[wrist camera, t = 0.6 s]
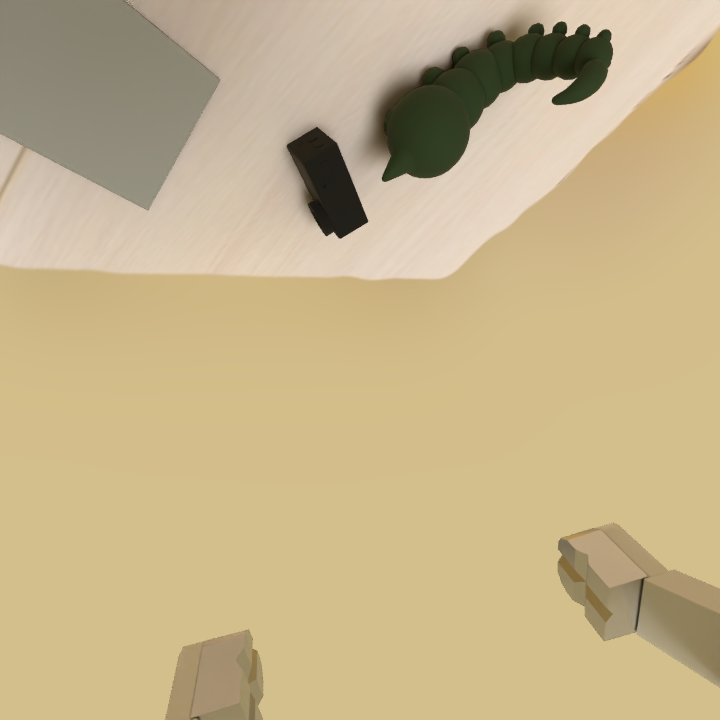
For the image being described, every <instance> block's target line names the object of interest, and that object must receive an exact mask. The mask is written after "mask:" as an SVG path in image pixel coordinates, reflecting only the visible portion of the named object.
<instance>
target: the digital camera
mask: <svg viewBox="0 0 720 720" xmlns="http://www.w3.org/2000/svg"><path fill="white" fill-rule="evenodd" d="M303 143H304V144H303ZM287 148H288V150H289V152H290V154H291V156H292V158H293V160H294V162H295V164H296V166H297V168H298V170H299V172H300V174H301V176H302V178H303V180H304V182H305V184H306V186H307V188H308V190H309V192H310V194H311V196H312V198H313V200H314V201H312V202H311V203H309V204H308V206H309V208H310V210H311V213H312V214H313V216H314V218H315V220H316V222H317V223H318V225H319V227H320V228H321V230H322V232H323V233H324V234H325V236H328V235H329V234H331V233H333V232H334V233H335V234H336V235H337V236H338V238H340V239H341V238H343V237H344V236H346V235H348V234H349V233H351V232H353V231H354V230H356V229H357V228H359V227H361V226H362V225H364V224H366V223H367V222H368V219H367V217H366V214H365V212H364V209H363V207H362V204H361V202H360V199H359V197H358V194H357V192H356V189H355V187H354V184H353V182H352V179H351V177H350V174H349V172H348V169H347V167H346V165H345V162H344V160H343V157H342V155H341V152H340V150H339V147H338V145H337V143H336V142H335V141H334V140H332V139H331V138H330V137H329V136H327V135H326V134H325V133H324V132H322V131H321V130H320V129H319V128H318V127H316V128H315V129H313V130H311V131H310V132H308V133H306V134H305V135H303V136H301V137H300V138H298V139H296V140H295V141H293V142H291V143H290V144H288V145H287Z"/></svg>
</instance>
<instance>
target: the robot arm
mask: <svg viewBox="0 0 720 720" xmlns="http://www.w3.org/2000/svg"><path fill="white" fill-rule="evenodd" d="M558 550H559V551H560V552H561V553H562V556H561V558H560V559H559V561H558V573H559V576H560V579H561V582H562V584H563V586H564V588H565V590H566V591H567V593H568V594H569V595H570V597H571V598H572V600H574V601H575V602H577V603H579V604H581V605H583V606H584V607H585V617H586V618H587V619H588V621H589V622H590V623H591V625H592V626H593V627H594V629H595V630H596V631H597V633H598V634H599V635H600V637H601V638H602V639H603V641H607V640H611V639H614V638H617V637H621V636H624V635H627V634H631V633H635V632H637V635H639V636H640V637H642V638H643V639H645V640H646V641H648V642H649V643H651V644H653V645H654V646H656V647H657V648H659V649H661V650H662V651H663V652H665V653H667V654H668V655H670V656H671V657H673V658H674V659H676V660H678V661H679V662H681V663H682V664H684V665H685V666H687V667H688V668H690V669H692V670H693V671H695V672H696V673H698V674H699V675H701V676H702V677H704V678H706V679H707V680H709V681H711V682H712V683H713V684H715V685H716V686H718V687H720V589H719V588H717V587H714V586H712V585H710V584H707V583H705V582H702V581H700V580H697V579H695V578H693V577H690V576H688V575H686V574H683V573H681V572H679V571H676V570H671V571H668V570H667V569H666V568H665V567H664V566H663V565H662V564H661V563H659V562H658V561H657V560H656V559H655V558H654V557H653V556H652V555H651V554H650V553H649V552H648V551H646V550H645V549H644V548H643V547H642V546H641V545H640V544H639V543H638V542H637V541H636V540H634V539H633V538H632V537H631V536H630V535H629V534H628V533H627V532H626V531H625V530H624V529H622V528H621V527H620V526H619V525H617V524H615V523H611V524H608V525H604V526H600V527H597V528H592V529H589V530H585V531H582V532H579V533H576V534H572V535H570V536H566V537H563V538H561V539H560V540H559V542H558ZM252 640H253V639H252V636H251V634H250V631H249V630H245V631H241V632H238V633H234V634H230V635H226V636H222V637H218V638H214V639H211V640H207V641H203V642H199V643H196V644H192V645H189V646H185V647H183V648H182V650H181V653H180V655H179V658H178V663H177V667H176V672H175V676H174V681H173V686H172V690H171V695H170V700H169V705H168V709H167V714H166V719H165V720H263V718H262V715H261V713H260V710H259V708H258V705H259V703H260V701H261V699H262V697H263V676H262V675H263V674H262V666H261V661H260V657H259V654H258V652H257V651H256V650H254V649H252Z"/></svg>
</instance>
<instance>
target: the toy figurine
mask: <svg viewBox="0 0 720 720" xmlns="http://www.w3.org/2000/svg"><path fill="white" fill-rule="evenodd" d="M566 33H567V25H566V23H565V22H558V23H557V24H556V25H555V26H554V27H553V31H552V33H550V34H548V35H545V36H543V35H544V27H543V25H542V24H540V23H537V24H534V25H532V26H531V27H530V29H529V30H528V34H526V35H524V36H522V37H520V38H518V39H517V40H516V41H515V42H511V41H505V35H504V33H503V32H501V31H499V30H498V31H494V32H492V33H491V34H490V35H489V37H488V39H487V48H488V49H487V50H485V49H478V50H473V51H471V52H469V50H468V49H467V48H466V47H460V48H458V49H457V50H456V51H455V52H454V54H453V62H454V65H455V67H454V69H450V70H448V71H445V72H443V71H442V70H441V69H440V68H437V67H434V68H431V69H429V70H428V71H427V72H426V73H425V75H424V76H423V86H421V87H418V88H416V89H414V90H412V91H411V92H409V93H408V94H406V95H405V96H404V97H403V98H402V99H401V100H400V101H399V102H398V103H397V104H396V105H395V107H394V108H393V109H392V110H391V111H389V112H388V113H387V115H386V119H385V123H384V131H385V134H386V136H387V143H388V148H389V151H390V154H391V157H390V160H389V162H388V164H387V167H386V169H385V171H384V174H383V176H382V181H383V182H387V181H389V180H392V179H394V178H396V177H399V176H401V175H403V174H406V173H407V174H409V175H411V176H414V177H418V178H433V177H436V176H440V175H442V174H444V173H446V172H447V171H449V170H450V169H451V168H452V167H453V166H454V165H455V164H456V163H457V162H458V161H459V160H460V158H461V156H462V155H463V153H464V152H465V149H466V147H467V144H468V141H469V135H470V129H471V128H472V127H473V126H474V125H475V124H476V123H477V122H478V120H479V118H480V116H481V114H482V112H483V109H484V108H486V107H488V106H490V105H491V104H492V103H493V102H494V101H495V99H496V98H497V97H498V95H499V94H500V93H502V92H505V91H507V90H509V89H511V88H512V87H513V86H514V85H515V84H516V83H517V82H518V83H528V82H531V81H534V80H535V79H540V80H552V79H554V78H556V77H557V76H558V77H559V78H562V79H564V80H572V79H575V78H577V77H578V78H577V79H576V80H575V81H574V82H573V83H572V84H571V85H570V86H569V87H568V88H567V89H565V90H564V91H562V92H561V93H559V94H557V95H556V96H554V97H553V98H552V103H553V104H554V105H566V104H572V103H576V102H580V101H582V100H584V99H586V98H588V97H590V96H591V95H592V94H594V93H595V92H596V91H597V90H598V89H599V88H600V87H601V86H602V84H603V83H604V81H605V79H606V77H607V73H608V69H607V68H608V67H609V66H610V64H611V60H612V56H613V48H612V45H611V43H610V40H611V35H612V34H611V32H610V31H609V30H607V29H605V30H602V31H601V32H600V33H599V34H598V35H597V37H594V38H591V39H590V38H589V35H590V27H589V26H588V25H586V24H583V25H581V26H580V27H578V28H577V30H576V32H575V34H574V35H571V36H568V37H566V36H565V34H566Z"/></svg>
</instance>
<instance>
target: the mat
mask: <svg viewBox="0 0 720 720" xmlns="http://www.w3.org/2000/svg"><path fill="white" fill-rule="evenodd" d="M219 82H220V79H219V78H218V77H216V76H215V75H214V74H213V73H211V72H210V71H209V70H208V69H207V68H205V67H204V66H203V65H202V64H200V63H199V62H198V61H197V60H196V59H194V58H193V57H192V56H191V55H189V54H188V53H187V52H186V51H185V50H183V49H182V48H181V47H180V46H179V45H177V44H176V43H175V42H174V41H172V40H171V39H170V38H169V37H168V36H166V35H165V34H164V33H163V32H161V31H160V30H159V29H158V28H157V27H155V26H154V25H153V24H152V23H150V22H149V21H148V20H147V19H146V18H144V17H143V16H142V15H141V14H139V13H138V12H137V11H136V10H135V9H133V8H132V7H131V6H130V5H128V4H127V3H126V2H125V1H124V0H0V134H2V135H4V136H6V137H8V138H10V139H12V140H14V141H16V142H17V143H19V144H21V145H23V146H25V147H27V148H29V149H31V150H33V151H35V152H37V153H39V154H41V155H42V156H44V157H46V158H48V159H50V160H52V161H54V162H56V163H58V164H60V165H62V166H64V167H65V168H67V169H69V170H71V171H73V172H75V173H77V174H79V175H81V176H83V177H85V178H87V179H89V180H90V181H92V182H94V183H96V184H98V185H100V186H102V187H104V188H106V189H108V190H110V191H112V192H113V193H115V194H117V195H119V196H121V197H123V198H125V199H127V200H129V201H131V202H133V203H135V204H137V205H138V206H140V207H142V208H144V209H146V210H149V208H150V206H151V204H152V203H153V201H154V199H155V197H156V195H157V194H158V192H159V190H160V188H161V186H162V185H163V183H164V181H165V179H166V177H167V176H168V174H169V172H170V170H171V168H172V166H173V165H174V163H175V161H176V159H177V157H178V156H179V154H180V152H181V150H182V148H183V147H184V145H185V143H186V141H187V139H188V138H189V136H190V134H191V132H192V130H193V129H194V127H195V125H196V123H197V121H198V120H199V118H200V116H201V114H202V112H203V110H204V109H205V107H206V105H207V103H208V101H209V100H210V98H211V96H212V94H213V92H214V91H215V89H216V87H217V85H218V83H219Z"/></svg>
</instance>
